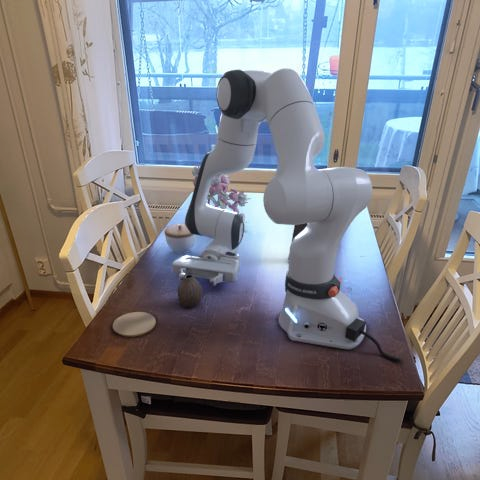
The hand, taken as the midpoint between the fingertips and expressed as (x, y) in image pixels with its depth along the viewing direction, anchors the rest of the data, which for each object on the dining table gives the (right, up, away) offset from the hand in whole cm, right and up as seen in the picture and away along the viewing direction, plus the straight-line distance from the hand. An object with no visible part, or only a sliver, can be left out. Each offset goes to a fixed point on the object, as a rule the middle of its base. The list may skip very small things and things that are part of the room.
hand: (196, 280), depth 121 cm
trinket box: (-8, +13, +30) cm, 34 cm away
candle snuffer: (+31, +7, +26) cm, 41 cm away
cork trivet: (-15, -12, -10) cm, 22 cm away
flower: (+6, +27, +50) cm, 57 cm away
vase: (-2, -7, -1) cm, 7 cm away
